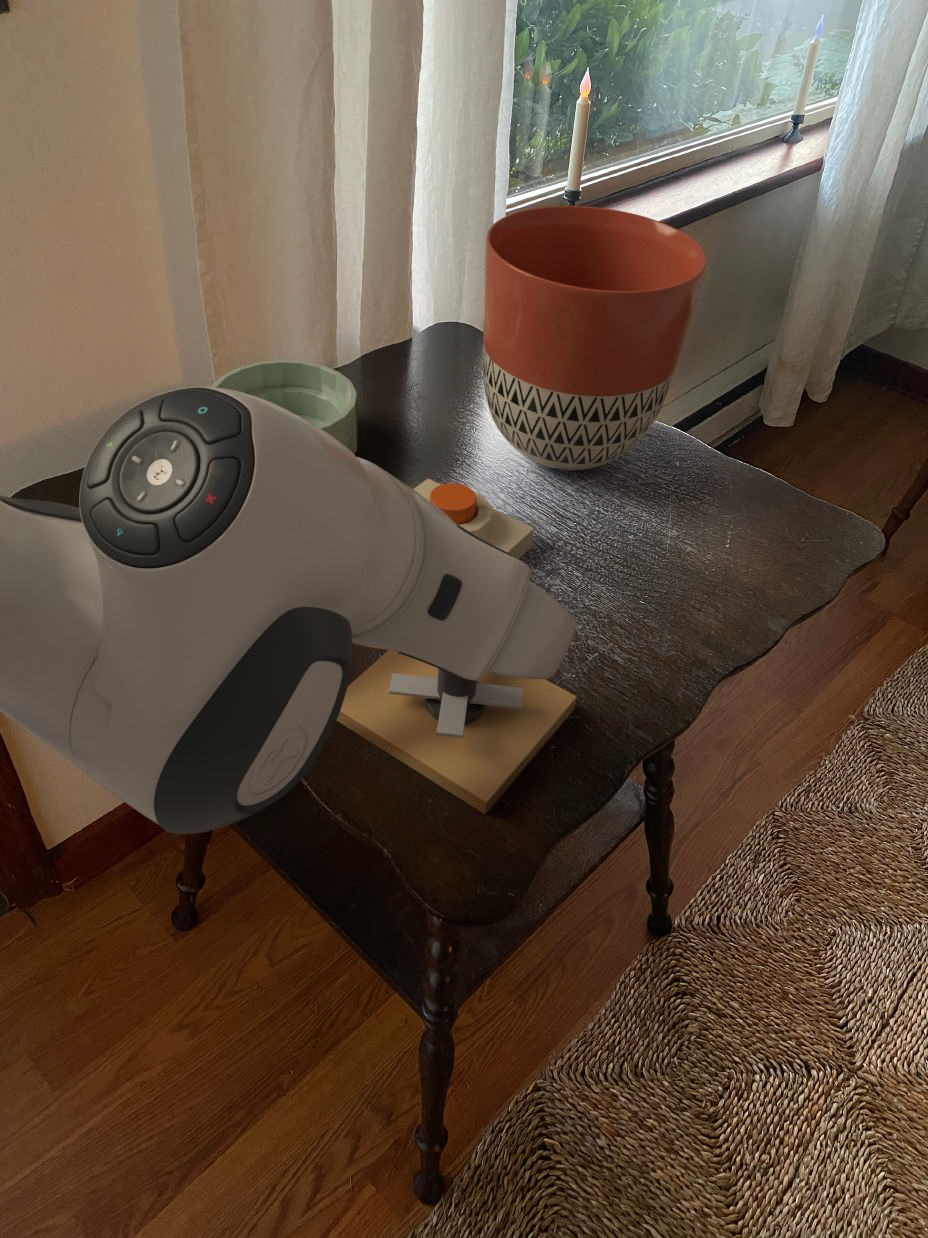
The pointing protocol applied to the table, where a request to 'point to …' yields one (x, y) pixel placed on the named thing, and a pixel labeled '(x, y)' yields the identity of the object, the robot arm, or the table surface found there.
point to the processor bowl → (302, 393)
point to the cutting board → (455, 763)
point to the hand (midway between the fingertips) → (451, 594)
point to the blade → (455, 698)
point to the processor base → (491, 524)
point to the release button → (455, 502)
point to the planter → (583, 328)
